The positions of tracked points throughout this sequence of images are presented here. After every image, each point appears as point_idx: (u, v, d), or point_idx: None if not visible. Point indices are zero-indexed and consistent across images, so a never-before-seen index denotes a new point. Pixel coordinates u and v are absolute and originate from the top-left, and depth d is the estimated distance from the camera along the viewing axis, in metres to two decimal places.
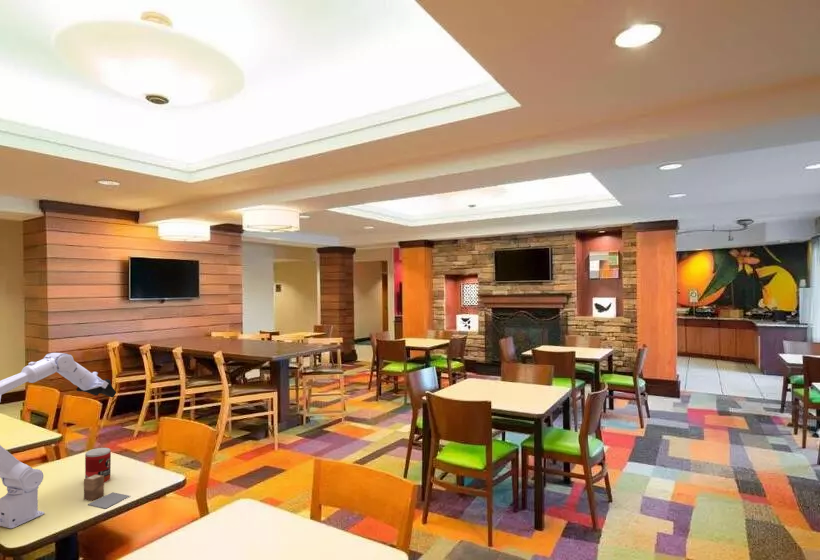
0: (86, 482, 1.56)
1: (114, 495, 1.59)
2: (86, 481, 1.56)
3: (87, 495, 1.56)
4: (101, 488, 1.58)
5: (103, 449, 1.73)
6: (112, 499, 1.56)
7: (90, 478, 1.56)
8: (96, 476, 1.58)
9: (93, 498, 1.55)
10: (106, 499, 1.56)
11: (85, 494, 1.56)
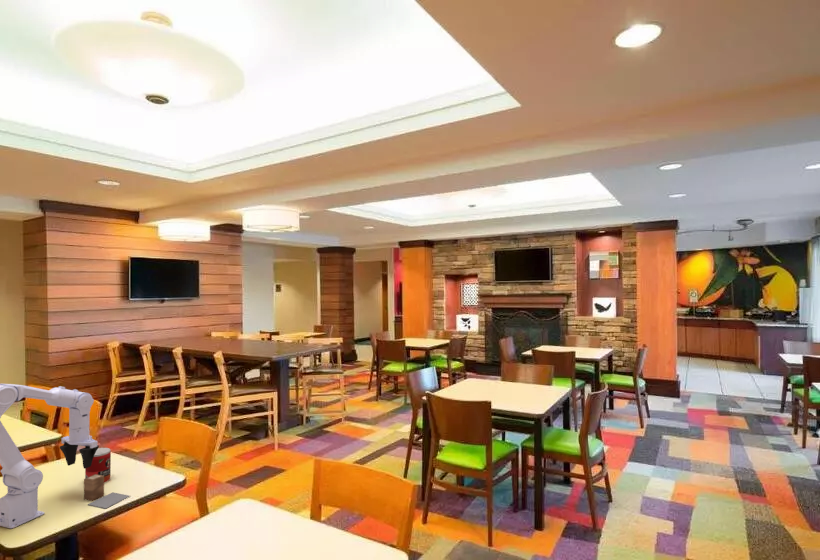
0: (86, 482, 1.56)
1: (114, 495, 1.59)
2: (86, 481, 1.56)
3: (87, 495, 1.56)
4: (101, 488, 1.58)
5: (103, 449, 1.73)
6: (112, 499, 1.56)
7: (90, 478, 1.56)
8: (96, 476, 1.58)
9: (93, 498, 1.55)
10: (106, 499, 1.56)
11: (85, 494, 1.56)
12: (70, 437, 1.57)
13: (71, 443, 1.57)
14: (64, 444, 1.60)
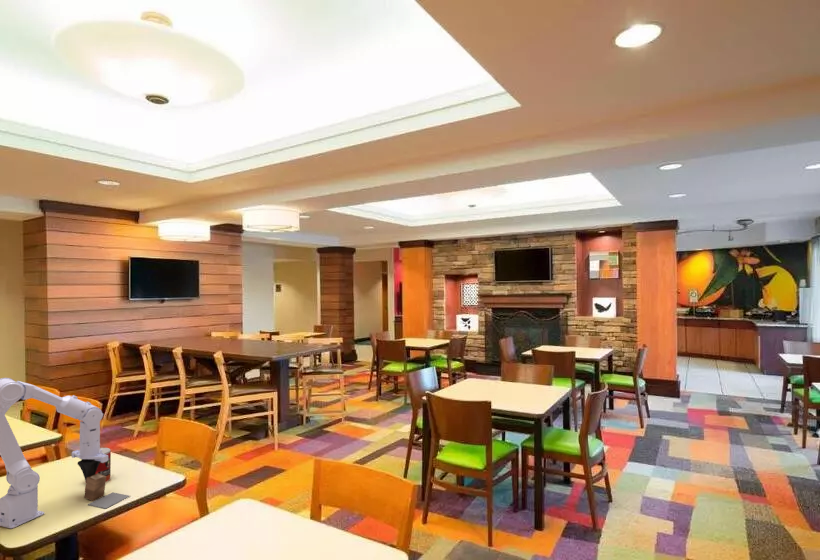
0: (88, 481, 1.56)
1: (114, 495, 1.59)
2: (88, 481, 1.56)
3: (88, 494, 1.56)
4: (102, 488, 1.58)
5: (103, 449, 1.73)
6: (112, 499, 1.56)
7: (93, 478, 1.56)
8: (99, 476, 1.58)
9: (93, 498, 1.55)
10: (106, 499, 1.56)
11: (86, 493, 1.56)
12: (81, 451, 1.56)
13: (82, 457, 1.55)
14: None
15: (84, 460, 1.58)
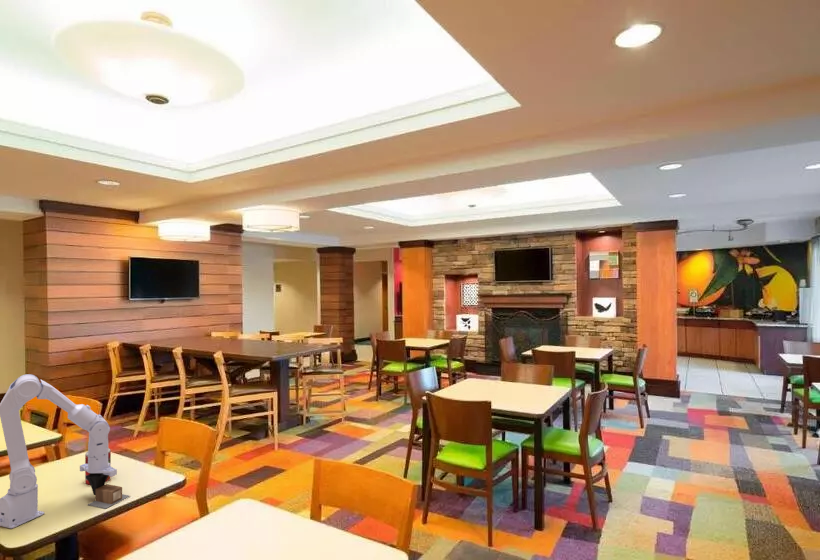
0: (108, 495, 1.53)
1: None
2: (109, 494, 1.53)
3: (99, 494, 1.54)
4: None
5: None
6: None
7: (113, 497, 1.53)
8: (118, 495, 1.55)
9: None
10: None
11: (99, 491, 1.54)
12: (89, 465, 1.54)
13: (90, 471, 1.54)
14: None
15: (92, 474, 1.56)
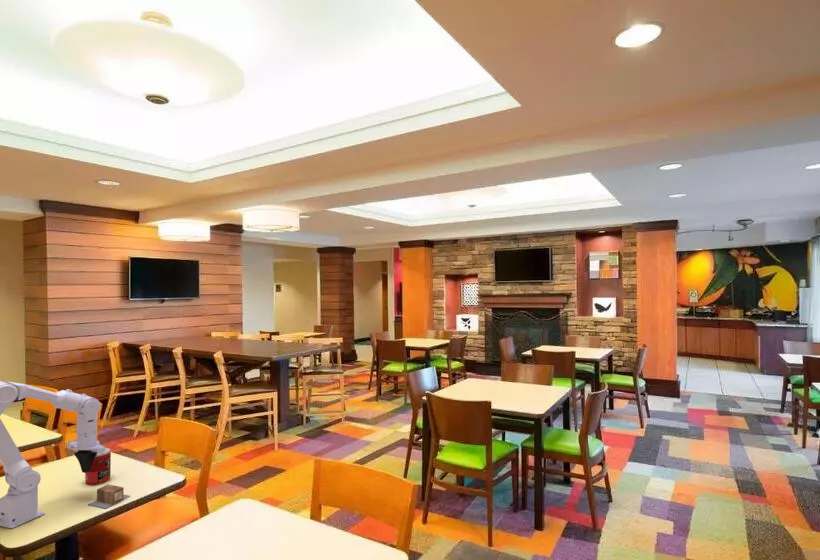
0: (110, 495, 1.53)
1: None
2: (110, 495, 1.53)
3: (100, 494, 1.54)
4: None
5: None
6: None
7: (114, 497, 1.53)
8: (119, 496, 1.55)
9: None
10: None
11: (100, 492, 1.54)
12: (78, 442, 1.56)
13: (79, 448, 1.56)
14: None
15: (81, 451, 1.58)
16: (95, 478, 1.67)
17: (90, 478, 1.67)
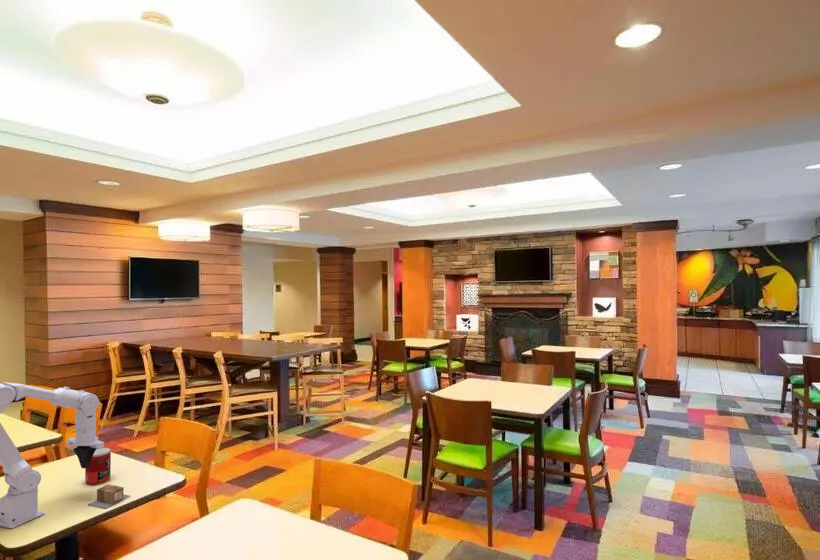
0: (110, 495, 1.53)
1: None
2: (110, 495, 1.53)
3: (100, 494, 1.54)
4: None
5: (103, 449, 1.73)
6: None
7: (114, 497, 1.53)
8: (119, 496, 1.55)
9: None
10: None
11: (100, 492, 1.54)
12: (76, 438, 1.56)
13: (77, 444, 1.56)
14: None
15: (80, 447, 1.58)
16: (95, 478, 1.67)
17: (90, 478, 1.67)
